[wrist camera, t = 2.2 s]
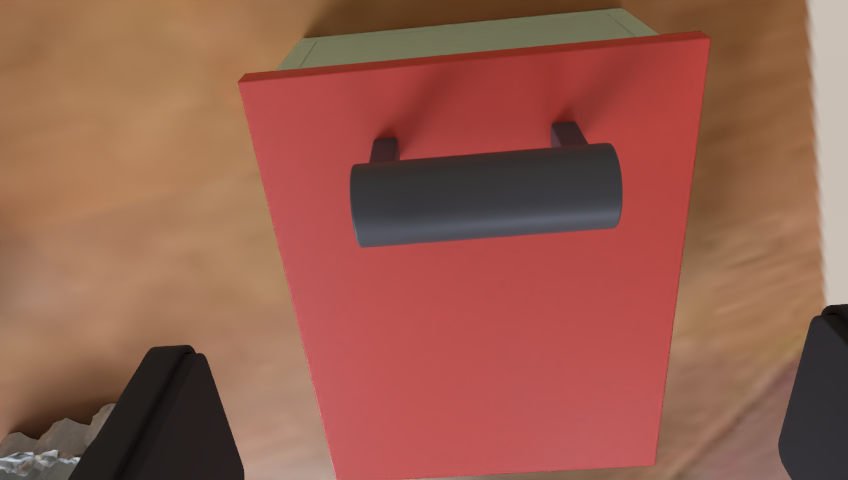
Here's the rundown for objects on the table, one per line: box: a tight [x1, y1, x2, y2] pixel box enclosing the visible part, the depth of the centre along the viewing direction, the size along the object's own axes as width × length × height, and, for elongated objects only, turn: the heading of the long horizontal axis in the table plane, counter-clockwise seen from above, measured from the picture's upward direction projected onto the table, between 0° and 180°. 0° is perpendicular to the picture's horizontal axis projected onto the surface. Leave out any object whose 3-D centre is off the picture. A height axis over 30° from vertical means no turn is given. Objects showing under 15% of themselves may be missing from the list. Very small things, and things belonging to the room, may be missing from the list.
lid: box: [238, 31, 711, 480], centre depth 19 cm, size 16×13×5 cm
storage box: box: [276, 8, 660, 71], centre depth 25 cm, size 16×13×8 cm
